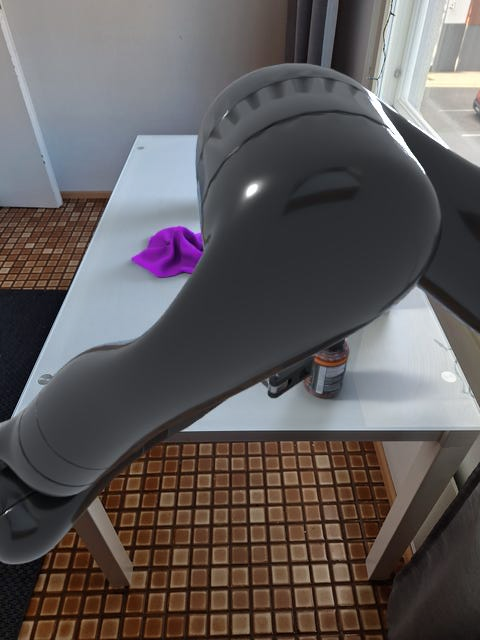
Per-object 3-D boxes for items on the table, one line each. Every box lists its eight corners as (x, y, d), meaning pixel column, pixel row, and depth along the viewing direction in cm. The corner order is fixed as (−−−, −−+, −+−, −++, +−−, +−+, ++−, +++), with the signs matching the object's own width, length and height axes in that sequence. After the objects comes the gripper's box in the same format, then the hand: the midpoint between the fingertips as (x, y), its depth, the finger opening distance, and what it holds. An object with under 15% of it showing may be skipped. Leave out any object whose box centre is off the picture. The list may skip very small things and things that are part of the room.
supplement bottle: (299, 372, 76) (305, 318, 68) (335, 369, 76) (346, 315, 69) (307, 401, 71) (315, 348, 64) (346, 398, 72) (358, 344, 64)
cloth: (123, 274, 96) (118, 248, 91) (149, 228, 109) (146, 203, 105) (232, 284, 93) (232, 257, 89) (245, 235, 107) (245, 210, 103)
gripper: (235, 398, 40) (348, 318, 49) (136, 318, 47) (249, 261, 56) (232, 451, 45) (335, 369, 54) (142, 370, 52) (246, 310, 61)
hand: (291, 314), depth 55 cm, fingers open, 8 cm apart
